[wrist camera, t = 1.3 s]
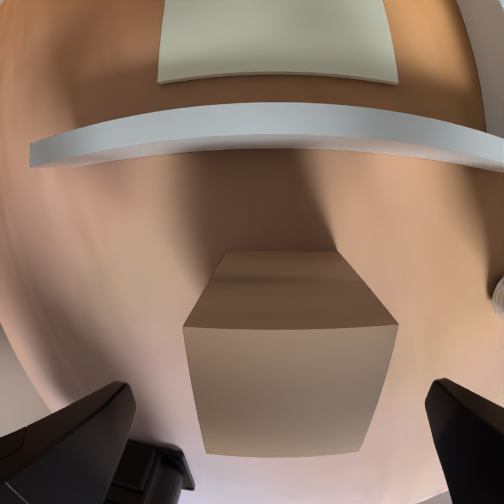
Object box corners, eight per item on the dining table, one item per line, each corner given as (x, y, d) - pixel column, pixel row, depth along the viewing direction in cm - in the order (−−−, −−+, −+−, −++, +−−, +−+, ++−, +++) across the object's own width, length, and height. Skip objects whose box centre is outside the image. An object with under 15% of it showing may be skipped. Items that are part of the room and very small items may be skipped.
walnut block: (328, 344, 14) (359, 451, 7) (231, 345, 14) (206, 453, 7) (337, 250, 13) (398, 324, 6) (227, 250, 13) (182, 326, 6)
